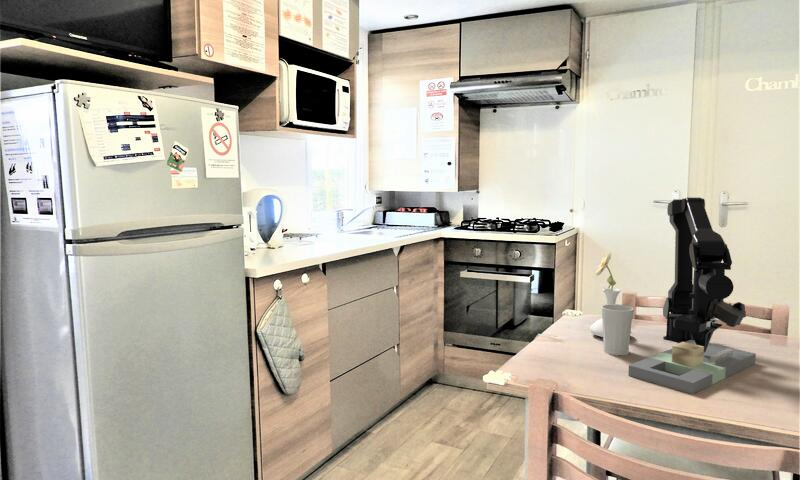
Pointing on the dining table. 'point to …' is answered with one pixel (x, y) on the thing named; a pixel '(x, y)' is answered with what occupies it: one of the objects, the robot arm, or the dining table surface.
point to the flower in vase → (609, 292)
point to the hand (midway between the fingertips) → (702, 352)
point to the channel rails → (718, 355)
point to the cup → (616, 328)
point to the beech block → (687, 354)
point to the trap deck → (690, 369)
